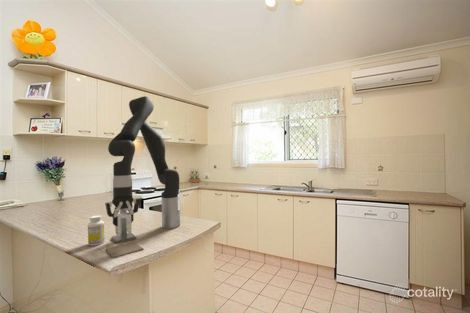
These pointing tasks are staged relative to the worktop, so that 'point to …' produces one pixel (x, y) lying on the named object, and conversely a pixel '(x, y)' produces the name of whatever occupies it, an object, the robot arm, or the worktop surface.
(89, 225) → the supplement bottle
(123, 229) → the stand
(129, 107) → the robot arm
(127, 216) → the hook
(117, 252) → the cork mat
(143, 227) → the worktop surface
